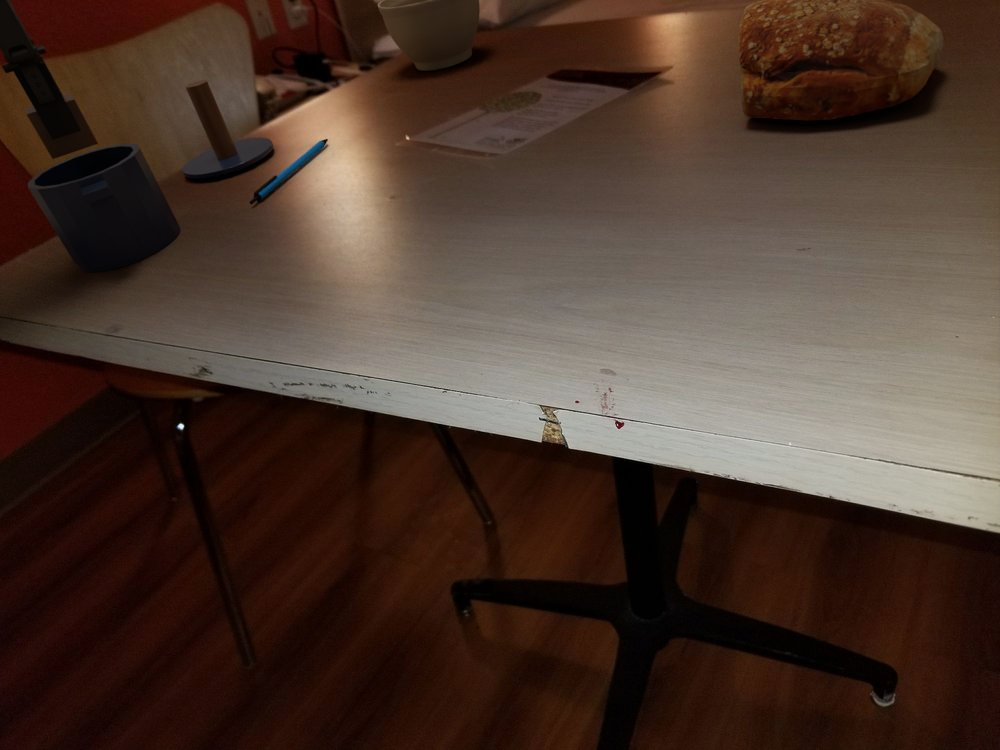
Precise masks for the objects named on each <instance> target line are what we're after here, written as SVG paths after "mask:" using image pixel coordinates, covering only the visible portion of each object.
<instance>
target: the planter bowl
mask: <svg viewBox="0 0 1000 750" xmlns="http://www.w3.org/2000/svg"><path fill="white" fill-rule="evenodd" d="M480 6H481V5H480V0H381V1H380V2H378V3H377V8H378V11H379V13H380V15H381V16H382V19H383V22H384V26H385V28H386V30H387V32H388V33H389V36H390V37H391V39H392V41H393V42H394V43H395V45H396V46H397V47H398V49H400V51H401V52H402V54H404V55H405V56H406V57H408V58H409V59H410V60H411V61H412V62H413V64H414V66H415V68H416V69H417V70H418V71H422V72H423V71H424V72H429V71H430V72H431V71H437V70H442V69H447V68H450V67H453V66H456V65H459V64H461V63H463V62H466V61H467V60H469V58H471V57H472V55H473V48H472V46H473V43H474V41H475V39H476V36H477V33H478V29H479V23H480V22H479V21H480V14H481V13H480V10H481V8H480Z"/></svg>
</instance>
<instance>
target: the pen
mask: <svg viewBox="0 0 1000 750" xmlns="http://www.w3.org/2000/svg"><path fill="white" fill-rule="evenodd" d="M328 141H329V138H325V139H322V140H319V141H318V142H317V143H316V144H314V145H313V146H312V147H310V148H309V149H308V150H307V151H306V152H305V153H303V154H302V155H301V156H300V157H298V158H297V159H296V160H295V161H294V162H292V163H291V164H289V166H288V167H286V168H285V169H284V170H282V171H281V172H280V173H278V175H273V176H272V177H271V178H269V180H268V181H265V183H264V184H262V185H261V186H260V187H258V189H256V190H255V191H254V192H253V198H252V199H251V200H250V201H249V204H250V205H253V204H254V203H256V202H260V201H262V200H263V199H264V198H265V197H266V196H267V195H269V194H270V193H271V192H272V191H274V190H275V189H276V188H277V187H278V186H279V185H281V184H282V183H283V182H284V181H286V180H287V179H288V177H290V176H291V175H292V174H294V173H295V172H296V171H297V170H298V169H300V168H301V167H302V166H303V165H304V164H306V163H307V162H309V160H310V159H312V158H313V157H314V156H315V155H317V153H319V152H320V151H321V150H322V149H324V148H325V146H326V144H328Z"/></svg>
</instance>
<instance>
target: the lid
mask: <svg viewBox="0 0 1000 750" xmlns="http://www.w3.org/2000/svg"><path fill="white" fill-rule="evenodd" d="M185 90H186V92H187V95H188V97H189V98H190V101H191V103H192V106H193V107H194V110H195V112H196V114H197V116H198V119H199V121H200V123H201V125H202V127H203V131H204V132H205V135H206V136H207V139H208V141H209V144H210V146H211V148H209V149H207V150H206V151H203V152H201V153H199V154H197V155H196V156H194V157H192V158H190V159H189V160H188V161H186V163H184V165H183V166H182V168H181V171H182V173H183V176H184V177H186V178H188V179H207V178H214V177H215V178H216V177H222V176H225V175H229V174H232V173H236V172H238V171H241V170H243V169H246V168H247V167H250V166H251V165H254V164H255V163H257V162H258V161H260V160H262V159H264V158H265V157H267V155H270V153H272V151H273V150H274V143H273V141H272V140H271V139H270V138H268V137H249V138H243V139H242V138H241V139H238V140H233V138H232V136H231V134H230V133H231V132H230V131H229V128H228V127H227V124H226V121H225V120H224V117H223V115H222V112H221V110H220V108H219V105H218V104H217V103H218V102H217V101H216V99H215V96H214V94H213V91H212V88H211V86H210V84H209V81H208V80H207V79H201V80H198V81H197V80H196V81H193V82H191V83H188V84H187V85H185Z"/></svg>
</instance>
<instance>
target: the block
mask: <svg viewBox="0 0 1000 750" xmlns="http://www.w3.org/2000/svg"><path fill="white" fill-rule="evenodd" d="M62 97H63V98H64V100H65V102H66V104H67V106H68V108H69V109H70V111H71V113H72V115H73V117H74V119H75V120H76V122H77V124H78V126H79V128H80V130H81V131H78V132H75V133H72V134H69V135H66V136H63V137H60V138H57V139H54V140H53V139H52V138H51V136H50V134H49V132H48V131H47V129H46V127H45V125H44V124H43V122H42V120H41V119H40V117H39V115H38V113H37V112H36V110H35V108H34V106H33V105H32V104H31V105H29V106H26V107H25V112H26V116H27V119H28V120H29V122H30V123H31V125H32V126H33V128H34V131H35V132H36V134H37V135H38V137H39V139H40V140H41V142H42V144H43V146H44V147H45V149H46V151H47V153H48V154H49V156H50V158H51V159H52V160H55V159H58V158H60V157H64V156H66V155H70V154H72V153H75V152H78V151H81V150H83V149H87V148H89V147H92V146H97V145H98V144H99V142H98V140H97V138H96V135H95V134H94V132H93V130H92V128H91V126H90V125H89V123H88V120H87V119H86V117H85V115H84V114H83V112H82V109H81V108H80V107H79V105H78V102H77V100H76V99H75V97H74V95H73V93H72V92H70V93H67V94H63V96H62Z"/></svg>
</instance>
